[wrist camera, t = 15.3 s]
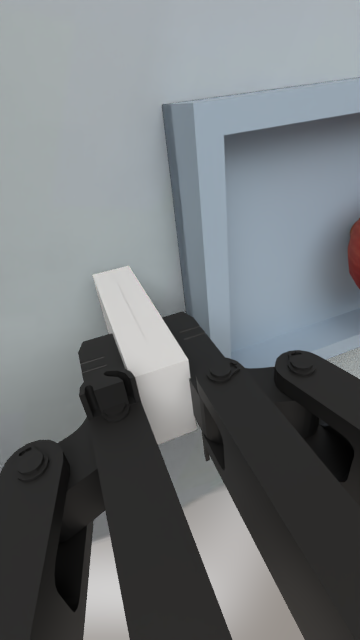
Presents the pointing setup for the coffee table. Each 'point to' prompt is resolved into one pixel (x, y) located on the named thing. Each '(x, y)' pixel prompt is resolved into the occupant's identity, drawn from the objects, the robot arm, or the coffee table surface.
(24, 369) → the coffee table surface
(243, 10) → the coffee table surface
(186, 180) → the tray
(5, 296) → the coffee table surface
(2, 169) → the coffee table surface
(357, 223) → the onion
